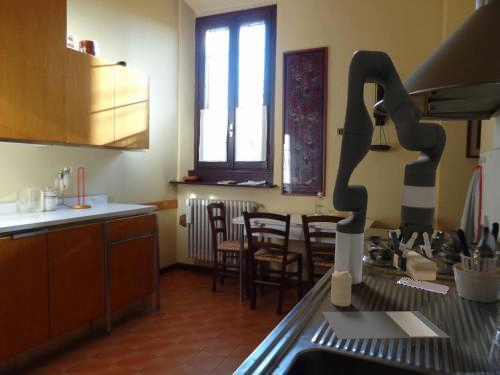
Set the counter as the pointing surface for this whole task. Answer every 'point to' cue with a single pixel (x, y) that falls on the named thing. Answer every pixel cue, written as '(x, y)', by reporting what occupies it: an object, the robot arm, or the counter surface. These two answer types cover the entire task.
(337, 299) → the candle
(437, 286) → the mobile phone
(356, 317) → the mat
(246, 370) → the counter surface
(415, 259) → the cream block
